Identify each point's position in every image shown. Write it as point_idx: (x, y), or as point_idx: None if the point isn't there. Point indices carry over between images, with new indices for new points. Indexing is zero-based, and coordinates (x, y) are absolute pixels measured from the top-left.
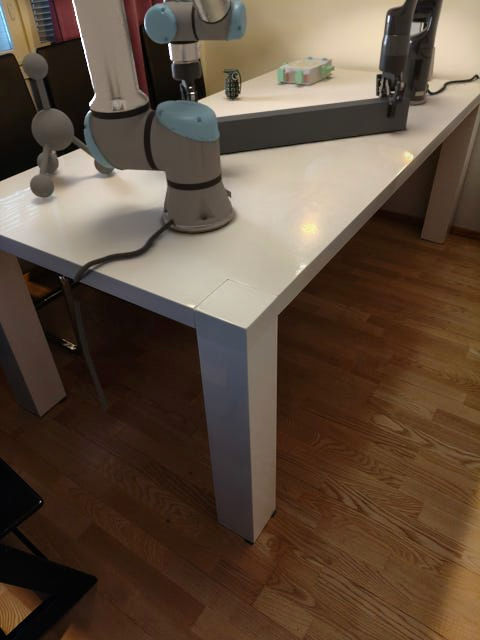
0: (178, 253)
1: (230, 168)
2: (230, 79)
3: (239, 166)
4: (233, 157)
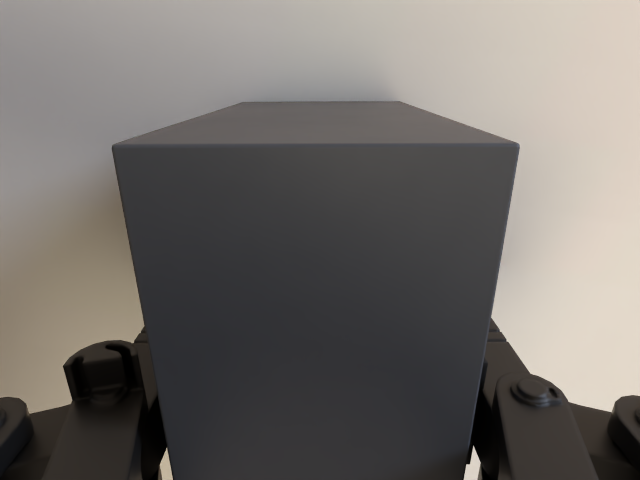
0: None
1: None
2: None
3: None
4: None
